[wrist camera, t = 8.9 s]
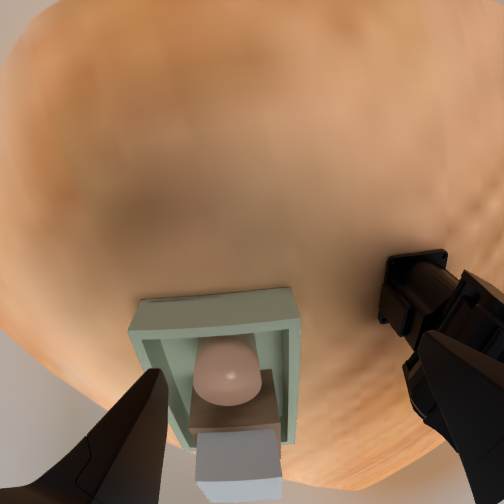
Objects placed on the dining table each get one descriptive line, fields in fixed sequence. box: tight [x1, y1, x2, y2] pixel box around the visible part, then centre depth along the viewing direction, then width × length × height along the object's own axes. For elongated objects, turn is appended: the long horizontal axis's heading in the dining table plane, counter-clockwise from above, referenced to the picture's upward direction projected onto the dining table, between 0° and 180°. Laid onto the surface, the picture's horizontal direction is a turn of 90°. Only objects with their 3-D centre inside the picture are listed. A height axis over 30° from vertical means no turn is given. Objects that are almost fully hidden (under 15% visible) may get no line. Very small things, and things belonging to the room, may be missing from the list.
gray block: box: [195, 428, 282, 503], centre depth 18 cm, size 6×6×4 cm
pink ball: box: [193, 333, 262, 406], centre depth 20 cm, size 5×5×5 cm
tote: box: [128, 287, 301, 451], centre depth 23 cm, size 12×17×4 cm
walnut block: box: [188, 369, 281, 459], centre depth 23 cm, size 7×7×6 cm
